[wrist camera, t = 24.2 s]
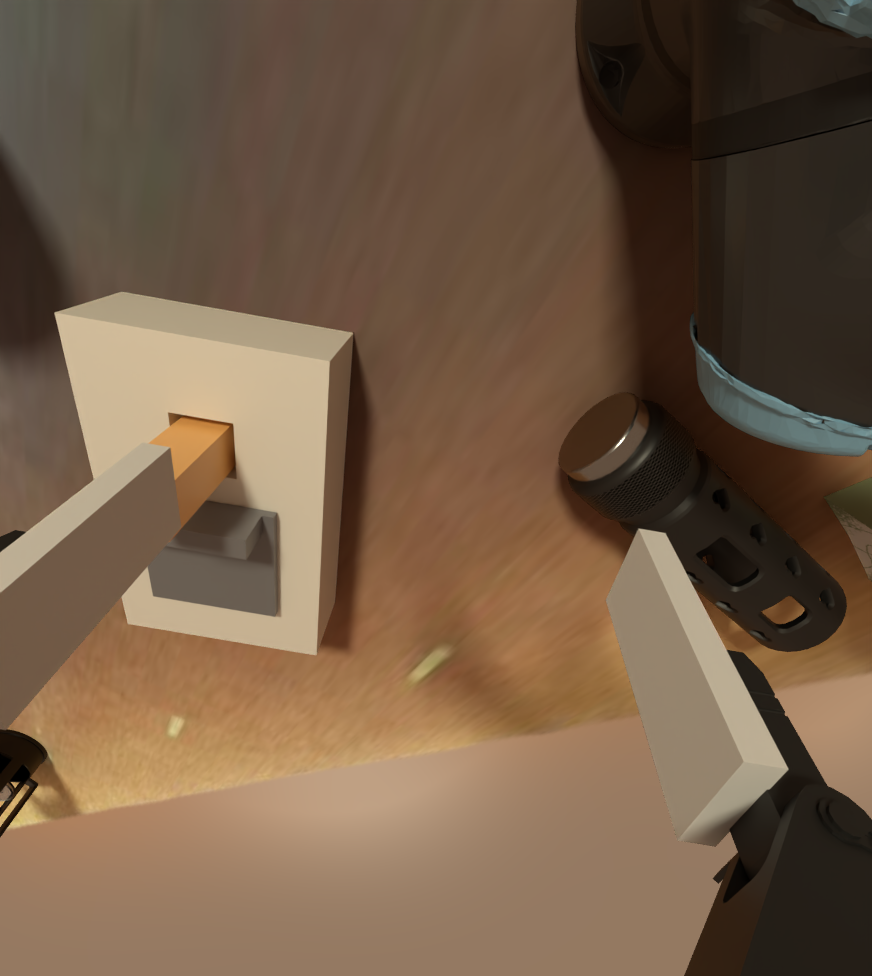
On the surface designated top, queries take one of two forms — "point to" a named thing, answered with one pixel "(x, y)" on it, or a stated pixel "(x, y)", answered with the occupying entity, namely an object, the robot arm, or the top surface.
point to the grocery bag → (856, 518)
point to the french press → (17, 769)
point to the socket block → (257, 435)
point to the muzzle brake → (699, 519)
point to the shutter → (221, 560)
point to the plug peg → (198, 459)
